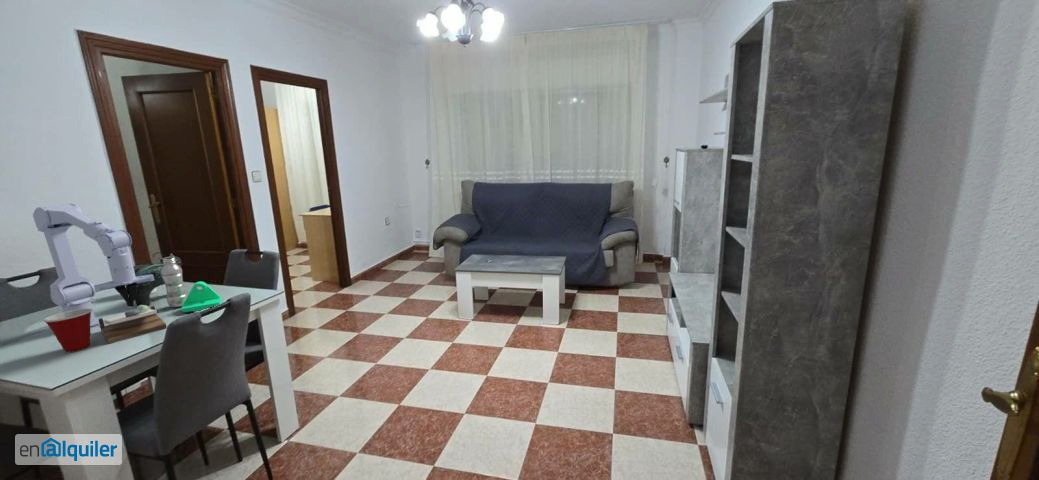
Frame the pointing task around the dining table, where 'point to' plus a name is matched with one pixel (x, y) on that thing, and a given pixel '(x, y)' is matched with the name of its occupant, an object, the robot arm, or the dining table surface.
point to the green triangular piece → (201, 298)
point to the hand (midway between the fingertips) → (130, 305)
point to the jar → (141, 268)
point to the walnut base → (131, 327)
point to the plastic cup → (71, 328)
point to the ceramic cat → (146, 287)
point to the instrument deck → (121, 318)
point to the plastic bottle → (173, 282)
